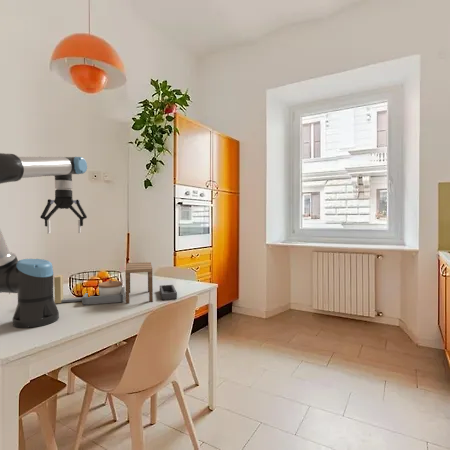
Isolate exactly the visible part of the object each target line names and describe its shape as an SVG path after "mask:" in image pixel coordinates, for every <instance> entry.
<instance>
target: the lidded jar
mask: <svg viewBox="0 0 450 450" xmlns="http://www.w3.org/2000/svg"><path fill="white" fill-rule="evenodd" d="M122 287H123V282H122V281H118V280H112V279H109V280H108V281H103V282H99V283H98V289H99V294H100V295H99V296H105V295H120V294H121V291H122Z"/></svg>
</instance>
